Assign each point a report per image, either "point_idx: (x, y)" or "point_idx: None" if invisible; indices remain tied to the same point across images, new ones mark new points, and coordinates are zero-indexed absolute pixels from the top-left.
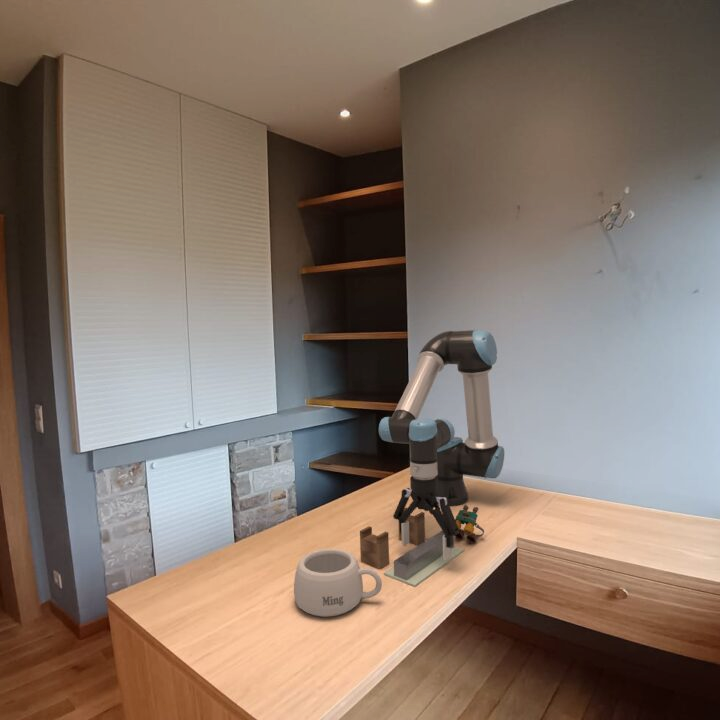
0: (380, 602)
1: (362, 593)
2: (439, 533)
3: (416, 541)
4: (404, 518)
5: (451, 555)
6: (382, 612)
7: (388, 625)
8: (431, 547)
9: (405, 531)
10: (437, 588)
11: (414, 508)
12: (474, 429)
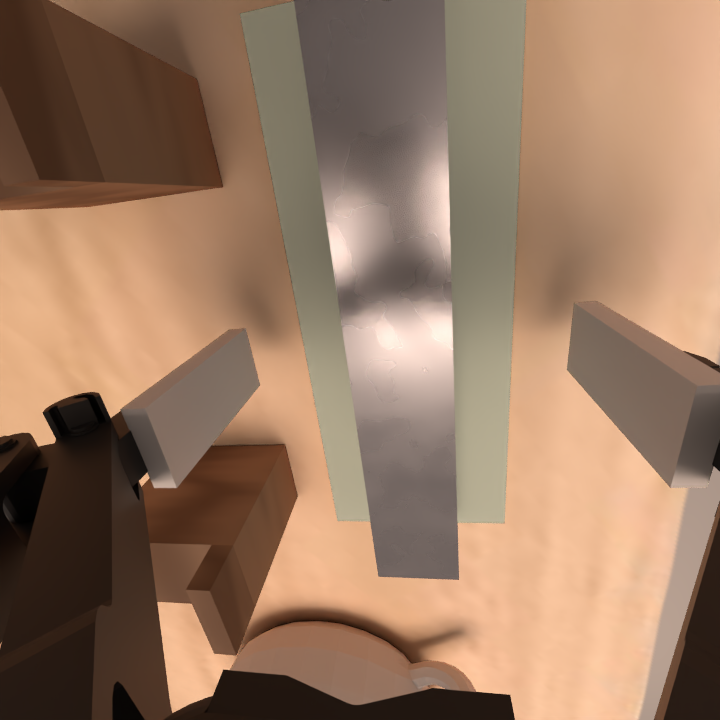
0: (460, 626)
1: (420, 688)
2: (320, 52)
3: (199, 188)
4: (147, 530)
5: (494, 146)
6: (501, 654)
7: (557, 682)
8: (442, 345)
9: (210, 416)
10: (595, 476)
11: (141, 644)
12: None
